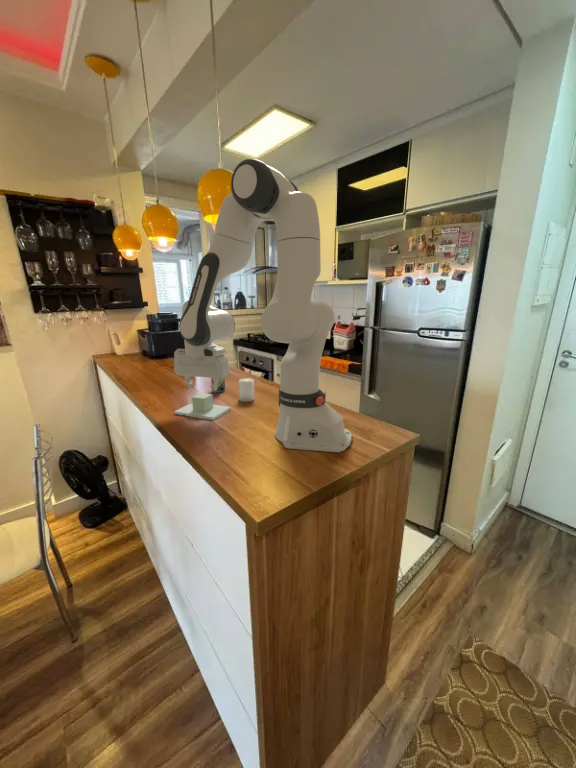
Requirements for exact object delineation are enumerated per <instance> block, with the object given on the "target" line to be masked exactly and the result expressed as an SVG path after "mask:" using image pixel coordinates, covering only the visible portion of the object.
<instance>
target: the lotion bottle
mask: <svg viewBox="0 0 576 768" xmlns="http://www.w3.org/2000/svg"><path fill="white" fill-rule="evenodd" d="M217 345H218V346H221V345H219V344H217ZM225 378H226V377H225ZM225 378H223V379H220V380H219V382H218V384H217V390H211V391H212V392H213V393H217V392H218V393H223V391H224V392H225V391H226V379H225ZM210 379H211V385H213V383H214V381H213V378H210Z"/></svg>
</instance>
